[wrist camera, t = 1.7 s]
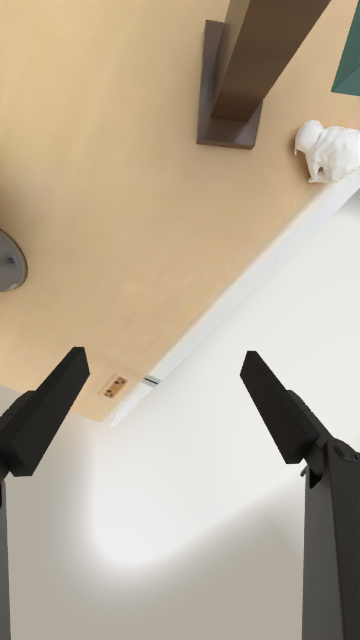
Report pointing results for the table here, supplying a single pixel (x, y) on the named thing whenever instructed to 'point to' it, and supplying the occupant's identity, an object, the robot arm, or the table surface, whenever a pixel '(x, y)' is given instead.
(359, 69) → the batten
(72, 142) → the table surface
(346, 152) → the white animal figurine
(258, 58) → the stand
